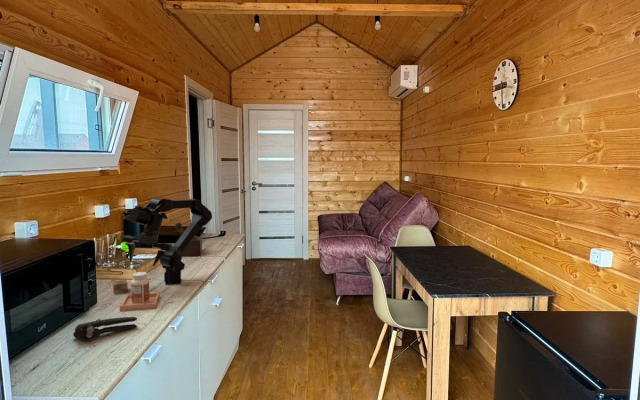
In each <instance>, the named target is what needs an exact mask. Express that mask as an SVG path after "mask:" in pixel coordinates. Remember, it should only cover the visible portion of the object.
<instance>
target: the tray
mask: <svg viewBox="0 0 640 400" xmlns="http://www.w3.org/2000/svg"><path fill="white" fill-rule="evenodd" d="M159 300H160V292H149V301H148V302H147V303H144V304H133V303H132V301H131V293H130V294H125V296H124V298H123V300H122V302H121V303H120V305H119V311H120V312H123V311H124V312H125V311H135V310H136V311H137V310H139V311H140V310H149V309H157V305H158V302H159Z"/></svg>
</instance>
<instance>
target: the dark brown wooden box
mask: <svg viewBox="0 0 640 400" xmlns="http://www.w3.org/2000/svg"><path fill="white" fill-rule="evenodd" d="M182 226H183V223H181V222H176V223H175V224H174V227H175V228H176V231H177V232H179V233H180V234H181V233H182V234H183V233H184V231H185V230H183V228H182ZM202 254H203V236H197V235H195V236H194V237H193V239H192V240H191V241H190V243H189V244H188V245H187V247H186V248H185V250H184V251H183V254H182V258H185V257H186V258H188V257H189V258H193V257H198V258H199V256H200V257H202V256H201V255H202Z"/></svg>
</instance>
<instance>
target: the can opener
mask: <svg viewBox="0 0 640 400" xmlns="http://www.w3.org/2000/svg"><path fill="white" fill-rule="evenodd" d="M137 320H138V318H137V317H136V316H129V317H128V316H125V317H124V316H122V317H113V318H107V319H100V318H97V319H95V320H93V321H88V322H84V323H79V324H77V325H76V327H75V328H74V332H73V333H72V334H73V335H72V336H73V337H74V338H75V339H80V340H82V341H87V342H88V341H91V340H94V339H95V338H97V337H99V336H100V335H103V334H106V333H117V332H126V331H130V330H133V329H135V328H137V325H136V324H135V323H134V324H133V323H132V322H135V321H137ZM130 322H131V323H132V324H126V323H130ZM124 323H125V324H124ZM118 324H120V325H118ZM121 324H123V325H121ZM101 327H103V328H101Z"/></svg>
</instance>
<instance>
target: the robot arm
mask: <svg viewBox="0 0 640 400" xmlns="http://www.w3.org/2000/svg"><path fill="white" fill-rule="evenodd" d="M174 209H177V210H178V209H189V210H190V213H191V214H192V215H191V220H190V221H191V222H190V223H189V225H188V226H187V227H186V229H185V230H183V231H184V232H183V233H182V234H181V235H180V236H179V238H178V239H177V240H176V242H174V244H173V245H172V244H171V243H165V242H161V243H160V242H159V243H158V241H159V238H160V237H159V234H160V231H161V227H162V223H163V220H168V219H169V218H168V216H167V214H166V212H170V211H172V210H174ZM212 219H213V213H212V211H211V210H210V209H208V207H207V206H205V205H204V204H203V203H202V202H201V201H200V200H199V199H196V198H189V199H186V198H185V199H167V198H160V197H153V198H151V200H150V201H149V202H148V203H147V204H146V205H145V206H144V207H143V206H140V205H135V207H134V208H133V209H132V210H131V211H130V212H129V215H128V220H129V221H130V222H131V223H134V224H138V225H144V226H145V227H144V228H143V231H142V232H140V233H139V234H138V238H137V236H132V235H126V234H125V235H123V237H122V239H121V242H123V243H125V244H124V245H126V246H127V248H128V256H129V258H128V259H129V262H132V260H133V259H134V255H135V254H134V253H135V251H136V244H139V245H143V246H149V247H153V248H158V250H157V253H156V256H155V258H154V261H153V263H152V264H153V265H152V267H155V266H156V264H158V261H159V263H160V265H161V267H162V269H165V271H164V273H163V276H164V277H163V278H164V279H163V281H164V282H163V283H164V285H166V286H167V285H180V284H181V285H182V270H185V267H186V264H185V263H184V262H183V261H182V259H183V257H182V254H183V251H184V250H185V248H186V247H187V245H188V244H189V243H190V241H191V240H192V239H193V237H194V236H196V234H197V233H198V232H199V231H200V229H201V228H202V227H204V226H206V225H207V224H209V222H210V221H211V220H212Z"/></svg>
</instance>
